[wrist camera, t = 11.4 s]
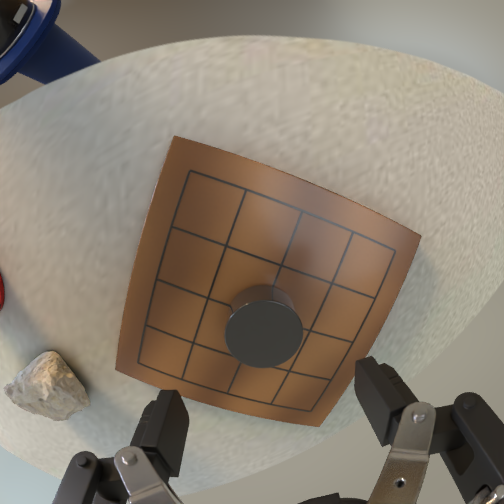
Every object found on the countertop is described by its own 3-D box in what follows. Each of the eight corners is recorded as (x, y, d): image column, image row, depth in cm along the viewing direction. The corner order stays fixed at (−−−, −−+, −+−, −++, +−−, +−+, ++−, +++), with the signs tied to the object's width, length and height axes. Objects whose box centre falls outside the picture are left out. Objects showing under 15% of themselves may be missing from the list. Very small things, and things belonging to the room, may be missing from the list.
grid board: (120, 361, 22) (114, 370, 21) (179, 139, 19) (173, 134, 17) (316, 417, 24) (319, 427, 22) (412, 233, 20) (422, 236, 19)
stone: (105, 385, 27) (100, 426, 18) (41, 422, 22) (24, 464, 13) (68, 333, 26) (46, 358, 17) (5, 375, 20) (-25, 405, 11)
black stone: (218, 335, 20) (214, 356, 17) (240, 274, 19) (239, 289, 16) (280, 353, 20) (284, 376, 17) (306, 297, 19) (316, 314, 16)
